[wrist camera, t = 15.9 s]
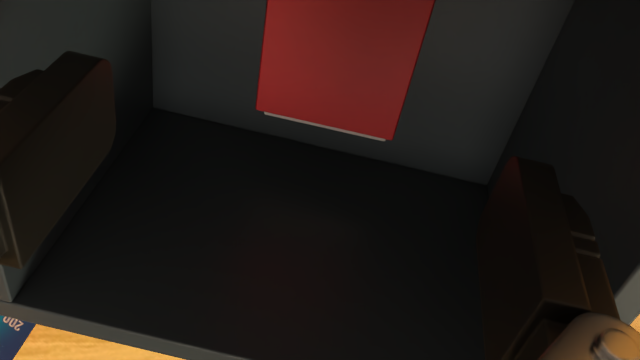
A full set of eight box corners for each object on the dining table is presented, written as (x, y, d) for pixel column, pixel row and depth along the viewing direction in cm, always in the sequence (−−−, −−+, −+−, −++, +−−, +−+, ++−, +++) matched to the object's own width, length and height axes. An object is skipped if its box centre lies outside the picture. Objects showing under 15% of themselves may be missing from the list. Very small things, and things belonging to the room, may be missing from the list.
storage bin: (125, -446, 15) (-340, -693, 6) (742, -308, 15) (1220, -348, 6) (143, 108, 26) (-10, 314, 17) (496, 191, 26) (529, 442, 17)
